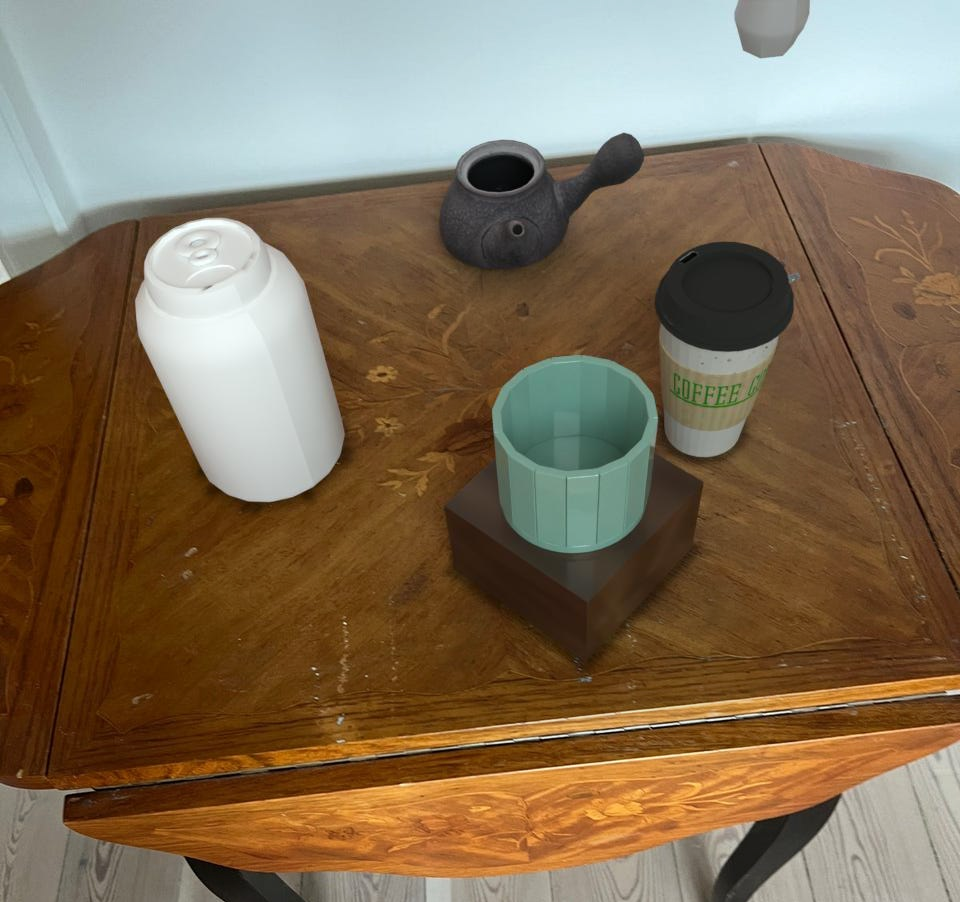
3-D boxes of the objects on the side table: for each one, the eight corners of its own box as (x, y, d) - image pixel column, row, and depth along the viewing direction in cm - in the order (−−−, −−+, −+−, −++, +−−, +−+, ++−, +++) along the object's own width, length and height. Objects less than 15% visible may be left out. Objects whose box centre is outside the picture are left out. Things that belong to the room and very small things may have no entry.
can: (187, 423, 88) (94, 225, 70) (322, 377, 89) (264, 174, 72) (221, 527, 81) (129, 338, 64) (366, 475, 83) (314, 278, 66)
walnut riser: (561, 468, 82) (560, 398, 75) (691, 548, 77) (704, 481, 70) (454, 569, 78) (443, 505, 71) (585, 662, 73) (587, 602, 66)
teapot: (453, 311, 92) (442, 217, 84) (434, 207, 100) (421, 111, 92) (654, 280, 93) (663, 183, 84) (619, 178, 101) (624, 80, 92)
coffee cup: (706, 494, 79) (733, 352, 67) (617, 428, 84) (627, 282, 71) (788, 428, 82) (829, 279, 69) (698, 367, 86) (721, 217, 74)
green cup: (562, 416, 74) (562, 332, 67) (677, 484, 70) (690, 402, 63) (469, 502, 71) (459, 424, 64) (584, 579, 67) (586, 504, 60)
